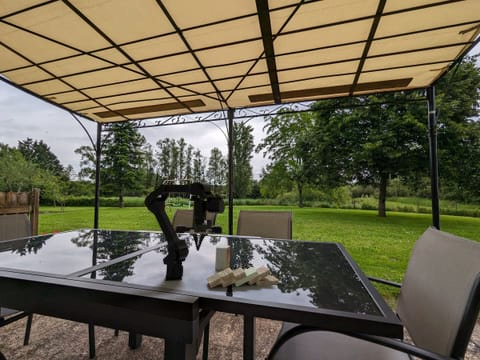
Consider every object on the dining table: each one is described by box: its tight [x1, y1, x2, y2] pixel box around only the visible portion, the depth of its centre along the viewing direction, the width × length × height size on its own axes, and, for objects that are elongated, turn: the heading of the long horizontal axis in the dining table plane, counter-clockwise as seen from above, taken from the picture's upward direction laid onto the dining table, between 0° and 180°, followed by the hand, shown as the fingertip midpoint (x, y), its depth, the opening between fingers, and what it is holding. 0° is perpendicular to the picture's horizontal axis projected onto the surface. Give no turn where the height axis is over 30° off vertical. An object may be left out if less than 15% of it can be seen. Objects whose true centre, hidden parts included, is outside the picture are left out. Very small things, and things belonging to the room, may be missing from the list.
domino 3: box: [233, 266, 259, 288], centre depth 94 cm, size 2×6×10 cm
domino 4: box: [246, 265, 272, 286], centre depth 96 cm, size 2×6×10 cm
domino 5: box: [254, 275, 280, 286], centre depth 96 cm, size 2×6×10 cm
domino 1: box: [206, 267, 235, 289], centre depth 91 cm, size 2×6×10 cm
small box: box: [214, 244, 231, 271], centre depth 116 cm, size 8×6×10 cm
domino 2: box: [220, 267, 246, 289], centre depth 92 cm, size 2×6×10 cm
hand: (197, 250), depth 94 cm, fingers closed
